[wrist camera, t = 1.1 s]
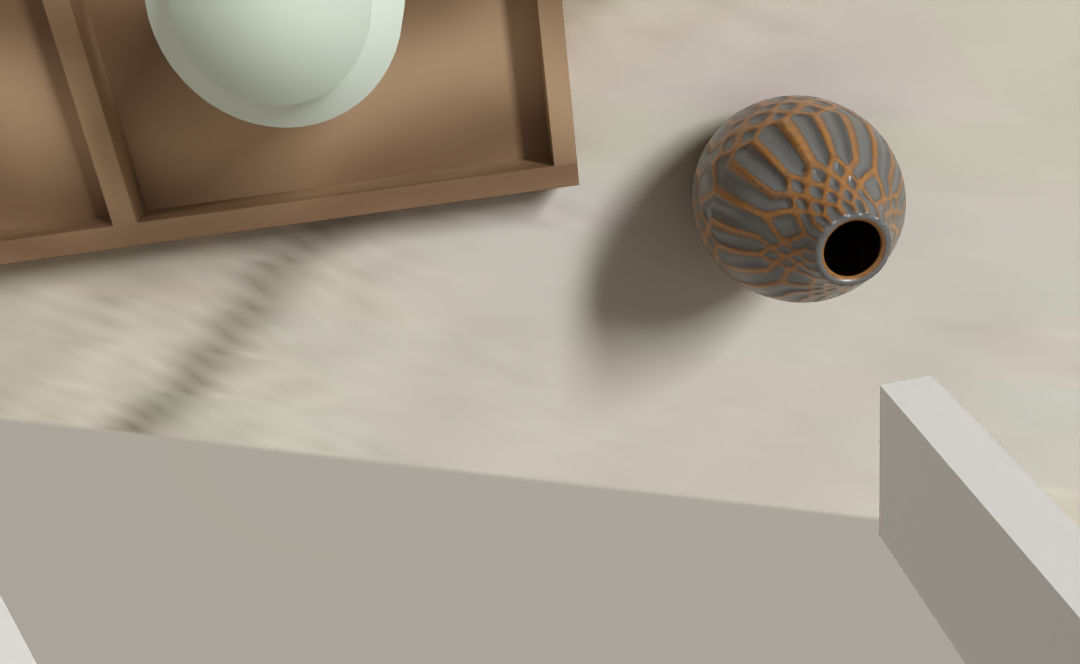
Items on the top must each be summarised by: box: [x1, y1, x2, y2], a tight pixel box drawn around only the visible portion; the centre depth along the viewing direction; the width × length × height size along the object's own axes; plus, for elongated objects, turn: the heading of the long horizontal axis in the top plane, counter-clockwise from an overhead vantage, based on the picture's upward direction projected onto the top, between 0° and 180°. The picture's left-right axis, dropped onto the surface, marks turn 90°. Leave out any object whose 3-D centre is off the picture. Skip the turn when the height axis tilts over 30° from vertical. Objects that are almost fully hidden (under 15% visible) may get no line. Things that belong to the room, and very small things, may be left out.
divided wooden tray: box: [0, 0, 579, 264], centre depth 31 cm, size 16×31×2 cm, turn 96°
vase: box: [692, 96, 906, 303], centre depth 33 cm, size 7×7×9 cm
